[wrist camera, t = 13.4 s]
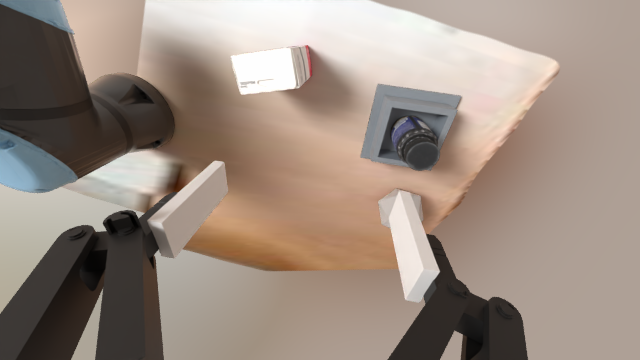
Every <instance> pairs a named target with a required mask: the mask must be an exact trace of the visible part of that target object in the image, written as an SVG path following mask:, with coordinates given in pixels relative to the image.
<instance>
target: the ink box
mask: <svg viewBox="0 0 640 360" xmlns="http://www.w3.org/2000/svg"><path fill="white" fill-rule="evenodd" d="M230 59H231V63H232V67H233V71H234V74H235V78H236V81H237V85H238V88H239V91H240V93H241V94H242V95H247V94H256V93H263V92H272V91H282V90H288V89H297V88H300V87H301V86H302V85H303V84H304V83H305V82H306V81H307V80H308V79H309V78H310V77H311V76H312V69H311V60H310V54H309V48H308V45H306V46H296V47H286V48H278V49H271V50H264V51H258V52H251V53H245V54H240V55H234V56H231V57H230Z"/></svg>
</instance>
